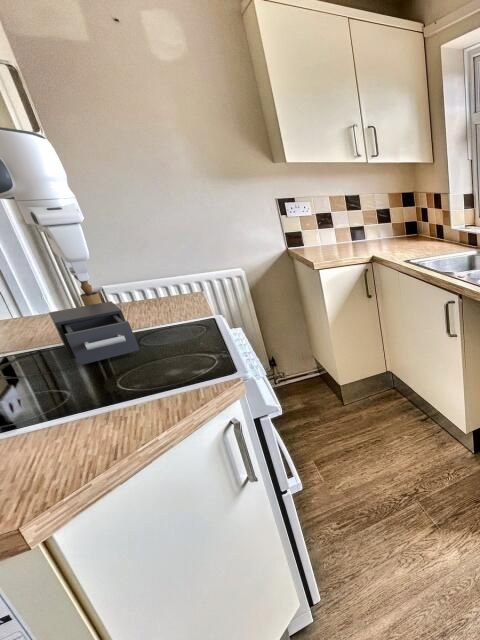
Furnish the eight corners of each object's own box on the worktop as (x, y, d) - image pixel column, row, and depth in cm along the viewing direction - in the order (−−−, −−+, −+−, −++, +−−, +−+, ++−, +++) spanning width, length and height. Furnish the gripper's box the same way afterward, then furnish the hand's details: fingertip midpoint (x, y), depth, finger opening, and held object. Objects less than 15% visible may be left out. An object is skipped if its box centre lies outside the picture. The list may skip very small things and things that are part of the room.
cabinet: (134, 343, 115) (121, 309, 112) (71, 358, 106) (54, 322, 103) (123, 332, 124) (111, 301, 120) (64, 345, 115) (48, 312, 111)
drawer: (143, 354, 106) (132, 325, 103) (82, 370, 98) (67, 339, 95) (129, 339, 116) (118, 312, 113) (71, 352, 108) (58, 324, 105)
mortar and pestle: (107, 332, 124) (83, 272, 117) (83, 334, 123) (56, 273, 116) (123, 325, 130) (100, 267, 123) (99, 326, 129) (75, 268, 122)
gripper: (26, 213, 93) (54, 274, 98) (37, 217, 81) (68, 287, 86) (66, 210, 97) (91, 269, 103) (81, 214, 85) (108, 280, 91)
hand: (80, 277), depth 94 cm, fingers open, 8 cm apart
